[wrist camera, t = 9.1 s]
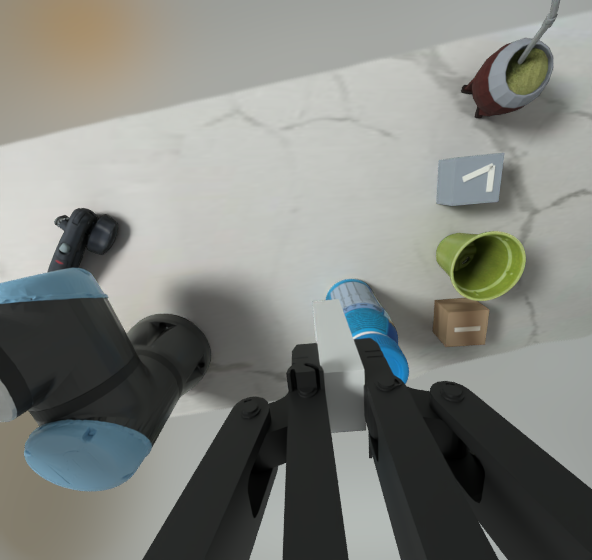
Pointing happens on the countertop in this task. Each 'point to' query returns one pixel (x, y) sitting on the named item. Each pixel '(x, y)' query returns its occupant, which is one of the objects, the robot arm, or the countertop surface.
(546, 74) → the mate gourd
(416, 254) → the countertop surface
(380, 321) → the beverage bottle
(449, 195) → the digit block 7
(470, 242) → the plant pot
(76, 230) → the can opener
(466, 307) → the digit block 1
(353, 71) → the countertop surface
